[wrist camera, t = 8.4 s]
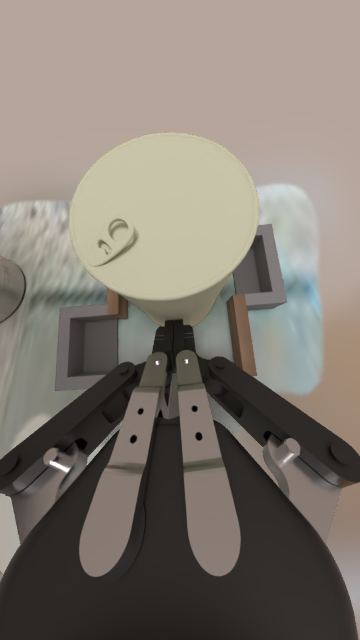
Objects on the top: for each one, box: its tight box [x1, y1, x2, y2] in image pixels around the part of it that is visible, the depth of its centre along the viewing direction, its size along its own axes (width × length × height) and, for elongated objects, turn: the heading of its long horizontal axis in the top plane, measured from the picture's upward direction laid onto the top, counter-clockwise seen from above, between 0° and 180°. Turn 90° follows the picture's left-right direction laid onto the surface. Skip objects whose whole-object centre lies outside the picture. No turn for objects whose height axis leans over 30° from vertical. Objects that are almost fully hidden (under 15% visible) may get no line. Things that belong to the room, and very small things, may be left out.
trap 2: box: [55, 304, 118, 391], centre depth 17 cm, size 5×8×2 cm, turn 4°
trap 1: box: [233, 224, 287, 310], centre depth 17 cm, size 4×9×2 cm, turn 4°
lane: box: [107, 288, 257, 376], centre depth 16 cm, size 14×17×4 cm
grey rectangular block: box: [69, 133, 259, 327], centre depth 13 cm, size 9×9×12 cm
